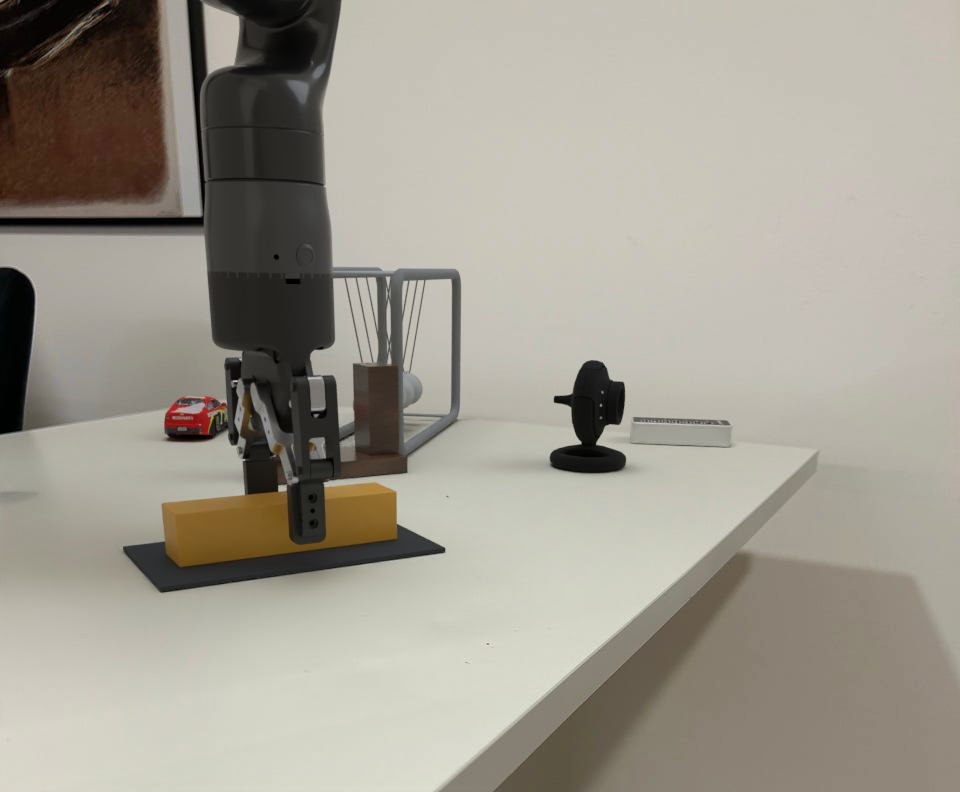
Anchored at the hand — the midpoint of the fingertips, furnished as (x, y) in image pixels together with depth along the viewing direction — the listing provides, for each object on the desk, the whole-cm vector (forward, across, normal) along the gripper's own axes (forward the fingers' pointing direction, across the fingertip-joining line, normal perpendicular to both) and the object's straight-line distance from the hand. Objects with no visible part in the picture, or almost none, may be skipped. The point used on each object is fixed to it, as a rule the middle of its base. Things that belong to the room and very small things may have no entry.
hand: (284, 527), depth 65 cm
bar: (+1, 0, 0) cm, 1 cm away
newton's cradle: (+2, -40, +27) cm, 49 cm away
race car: (+2, -51, +9) cm, 52 cm away
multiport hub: (+2, -23, +55) cm, 60 cm away
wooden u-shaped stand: (+2, -24, +13) cm, 27 cm away
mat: (+2, 0, 0) cm, 2 cm away
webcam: (+2, -16, +37) cm, 40 cm away
